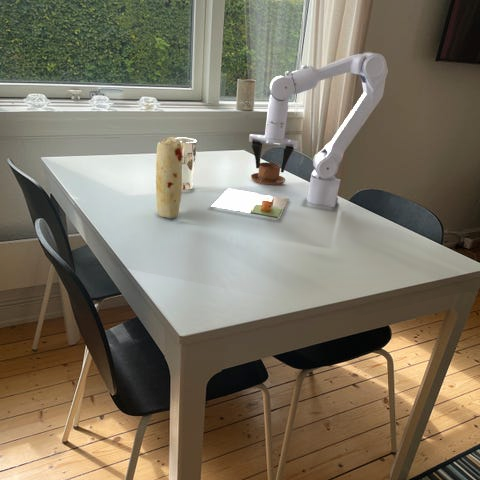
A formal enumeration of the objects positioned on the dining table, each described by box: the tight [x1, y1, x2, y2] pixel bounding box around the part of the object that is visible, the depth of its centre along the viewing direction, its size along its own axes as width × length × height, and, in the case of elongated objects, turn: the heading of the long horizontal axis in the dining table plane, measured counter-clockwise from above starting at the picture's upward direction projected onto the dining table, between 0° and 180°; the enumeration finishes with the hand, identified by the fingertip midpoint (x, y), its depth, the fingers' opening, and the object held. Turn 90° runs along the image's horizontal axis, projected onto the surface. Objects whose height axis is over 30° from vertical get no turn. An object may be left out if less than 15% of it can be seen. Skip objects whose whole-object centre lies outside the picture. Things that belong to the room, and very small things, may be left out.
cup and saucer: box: [250, 162, 286, 186], centre depth 167 cm, size 12×12×6 cm
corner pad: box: [249, 204, 282, 218], centre depth 140 cm, size 8×8×1 cm
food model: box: [155, 136, 183, 220], centre depth 127 cm, size 10×7×20 cm
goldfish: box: [261, 194, 274, 212], centre depth 139 cm, size 6×3×4 cm, turn 167°
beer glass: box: [175, 137, 197, 190], centre depth 149 cm, size 7×7×15 cm
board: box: [210, 188, 290, 219], centre depth 146 cm, size 20×20×1 cm
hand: (270, 169), depth 147 cm, fingers open, 7 cm apart
